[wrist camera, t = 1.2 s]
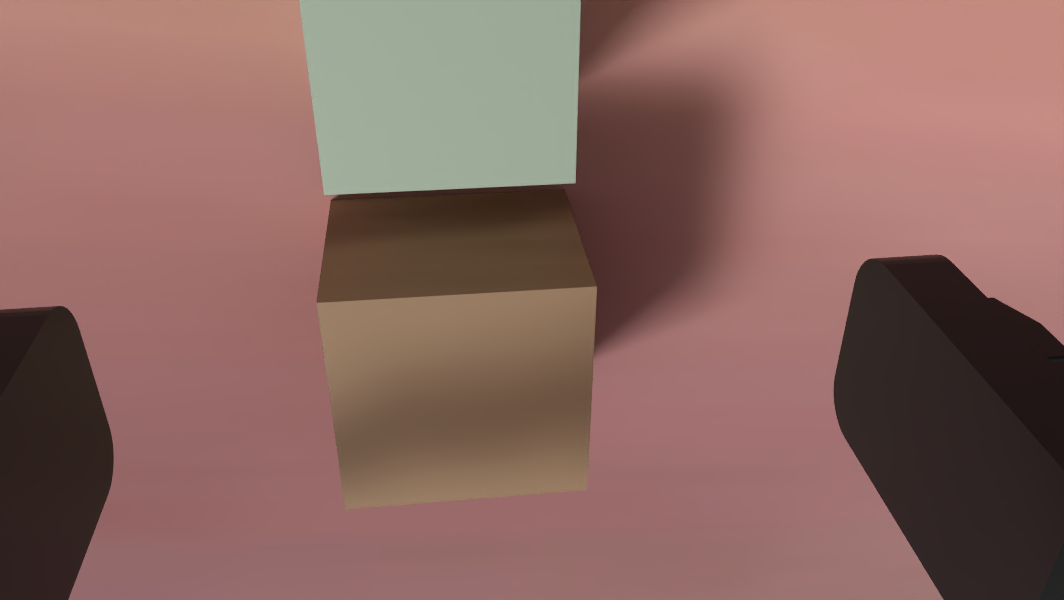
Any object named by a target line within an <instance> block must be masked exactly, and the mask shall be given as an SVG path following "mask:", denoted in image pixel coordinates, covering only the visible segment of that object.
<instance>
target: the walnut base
mask: <svg viewBox="0 0 1064 600" xmlns="http://www.w3.org/2000/svg"><path fill="white" fill-rule="evenodd" d="M596 298H597V285H596V282H595V279H594V276H593V273H592V270H591V267H590V264H589V261H588V258H587V255H586V252H585V249H584V246H583V243H582V240H581V237H580V234H579V232H578V229H577V226H576V223H575V220H574V217H573V214H572V211H571V208H570V205H569V202H568V199H567V196H566V193H565V190H564V189H561V190H540V191H518V192H497V193H476V194H454V195H433V196H411V197H390V198H369V199H347V200H331V203H330V210H329V217H328V225H327V232H326V239H325V246H324V253H323V260H322V267H321V274H320V281H319V289H318V296H317V310H318V317H319V324H320V332H321V339H322V346H323V353H324V360H325V367H326V374H327V381H328V388H329V395H330V403H331V410H332V417H333V424H334V431H335V438H336V445H337V452H338V459H339V466H340V474H341V481H342V488H343V495H344V502H345V509H355V508H368V507H380V506H392V505H405V504H417V503H430V502H442V501H454V500H467V499H479V498H491V497H504V496H516V495H529V494H541V493H553V492H566V491H578V490H587V483H588V463H589V442H590V421H591V401H592V380H593V359H594V339H595V318H596Z"/></svg>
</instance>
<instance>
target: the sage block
mask: <svg viewBox="0 0 1064 600" xmlns="http://www.w3.org/2000/svg"><path fill="white" fill-rule="evenodd" d="M299 3H300V11H301V19H302V27H303V34H304V42H305V50H306V58H307V65H308V73H309V81H310V89H311V96H312V104H313V112H314V120H315V128H316V135H317V143H318V151H319V159H320V166H321V174H322V182H323V190H324V195H337V194H358V193H379V192H401V191H422V190H443V189H464V188H486V187H507V186H528V185H549V184H570V183H576V150H577V115H578V80H579V45H580V10H581V0H299Z"/></svg>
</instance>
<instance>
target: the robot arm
mask: <svg viewBox="0 0 1064 600" xmlns="http://www.w3.org/2000/svg"><path fill="white" fill-rule="evenodd" d="M834 404H835V410H836V415H837V419H838V423H839V426H840V428H841V431H842V433H843V435H844V437H845V439H846V440H847V442H848V444H849V445H850V447H851V449H852V450H853V452H854V454H855V455H856V457H857V458H858V460H859V462H860V463H861V465H862V467H863V468H864V470H865V472H866V473H867V475H868V476H869V478H870V480H871V481H872V483H873V485H874V486H875V488H876V490H877V491H878V493H879V494H880V496H881V498H882V499H883V501H884V503H885V504H886V506H887V508H888V509H889V511H890V512H891V514H892V516H893V517H894V519H895V521H896V522H897V524H898V526H899V527H900V529H901V530H902V532H903V534H904V535H905V537H906V539H907V540H908V542H909V544H910V545H911V547H912V549H913V550H914V552H915V553H916V555H917V557H918V558H919V560H920V562H921V563H922V565H923V567H924V568H925V570H926V571H927V573H928V575H929V576H930V578H931V580H932V581H933V583H934V585H935V586H936V588H937V589H938V591H939V593H940V594H941V596H942V598H943V599H944V600H1064V345H1062V344H1061V343H1060V342H1059V341H1058V340H1057V339H1056V338H1055V337H1054V336H1053V335H1052V334H1051V333H1050V332H1049V331H1048V330H1047V329H1046V328H1045V327H1044V326H1043V325H1042V324H1040V323H1039V322H1037V321H1035V320H1033V319H1031V318H1030V317H1028V316H1026V315H1024V314H1022V313H1020V312H1019V311H1017V310H1015V309H1013V308H1011V307H1009V306H1008V305H1006V304H1004V303H1002V302H1000V301H999V300H997V299H995V298H987V297H986V296H985V295H984V294H983V293H982V292H981V291H980V290H979V289H978V288H977V287H976V286H975V285H974V284H973V283H972V282H971V281H970V280H969V279H968V278H967V277H966V276H965V275H964V274H963V273H962V272H961V271H960V270H959V269H958V268H957V267H956V266H955V265H954V264H953V263H952V262H951V261H950V260H949V259H947V258H946V257H944V256H942V255H923V256H907V257H890V258H874V259H868V260H867V261H865V262H864V263H863V264H862V265H861V267H860V269H859V271H858V273H857V276H856V279H855V283H854V288H853V293H852V298H851V302H850V307H849V312H848V317H847V321H846V326H845V331H844V336H843V341H842V345H841V350H840V355H839V360H838V364H837V369H836V374H835V380H834ZM112 475H113V443H112V436H111V431H110V427H109V424H108V421H107V418H106V414H105V411H104V408H103V405H102V401H101V398H100V395H99V392H98V388H97V385H96V382H95V379H94V375H93V372H92V369H91V366H90V362H89V359H88V356H87V353H86V350H85V346H84V343H83V340H82V337H81V333H80V330H79V327H78V325H77V322H76V320H75V318H74V316H73V315H72V313H71V312H70V311H69V310H68V309H67V308H65V307H63V306H53V307H37V308H20V309H4V310H0V600H68V599H69V596H70V594H71V591H72V588H73V586H74V583H75V580H76V578H77V575H78V573H79V570H80V567H81V565H82V562H83V559H84V557H85V554H86V551H87V549H88V546H89V543H90V541H91V538H92V536H93V533H94V530H95V528H96V525H97V522H98V520H99V517H100V514H101V512H102V509H103V507H104V504H105V501H106V499H107V496H108V493H109V490H110V486H111V482H112Z"/></svg>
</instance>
